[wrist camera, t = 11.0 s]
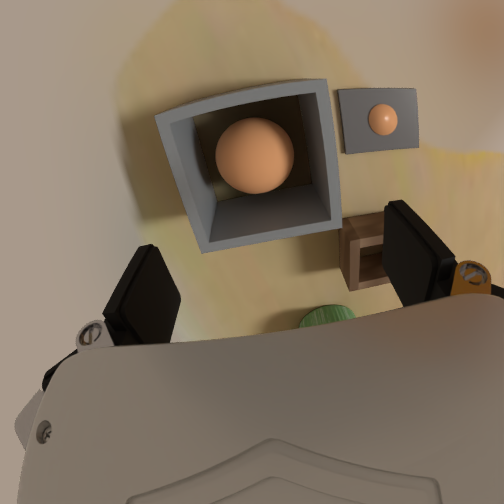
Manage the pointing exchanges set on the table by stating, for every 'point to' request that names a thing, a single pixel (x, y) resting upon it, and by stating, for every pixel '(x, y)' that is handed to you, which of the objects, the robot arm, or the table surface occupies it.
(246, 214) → the grey hollow box
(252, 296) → the table surface
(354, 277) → the brown open box
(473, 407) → the robot arm
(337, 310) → the ramekin
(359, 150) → the card
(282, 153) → the ball
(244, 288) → the table surface
